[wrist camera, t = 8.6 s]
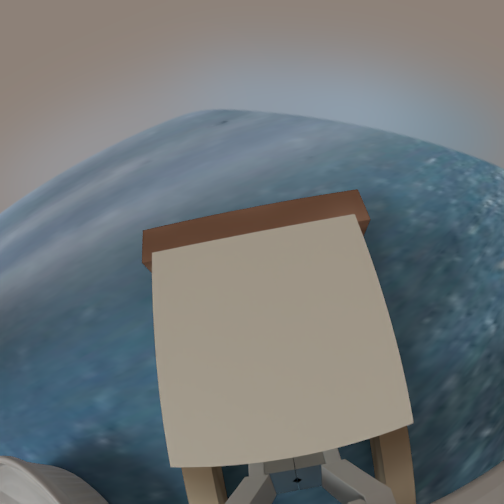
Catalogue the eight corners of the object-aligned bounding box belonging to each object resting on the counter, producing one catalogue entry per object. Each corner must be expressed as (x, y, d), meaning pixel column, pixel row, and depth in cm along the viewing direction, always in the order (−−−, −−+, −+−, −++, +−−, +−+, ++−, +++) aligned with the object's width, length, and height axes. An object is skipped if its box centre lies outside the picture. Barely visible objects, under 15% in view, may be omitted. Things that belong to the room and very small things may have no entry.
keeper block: (336, 406, 13) (413, 422, 5) (240, 424, 14) (170, 467, 5) (317, 318, 16) (354, 213, 7) (226, 335, 16) (151, 252, 7)
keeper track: (413, 562, 7) (432, 584, 4) (221, 597, 8) (209, 625, 5) (347, 223, 19) (357, 189, 15) (164, 258, 19) (142, 230, 16)
